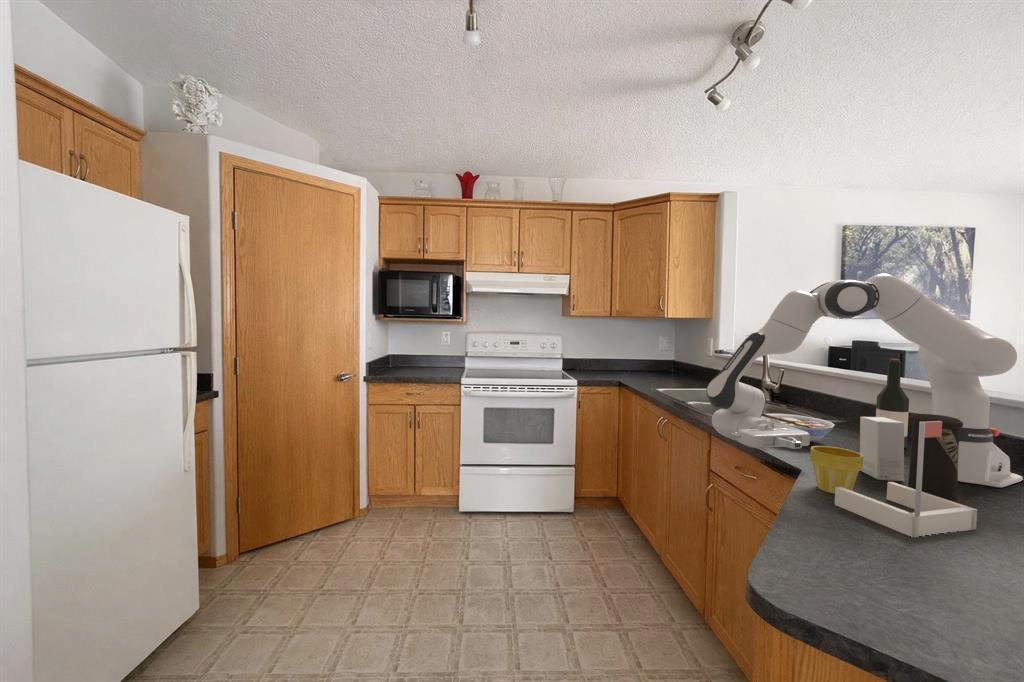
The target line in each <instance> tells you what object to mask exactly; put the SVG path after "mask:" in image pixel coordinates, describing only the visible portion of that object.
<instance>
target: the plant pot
mask: <svg viewBox="0 0 1024 682" xmlns="http://www.w3.org/2000/svg"><path fill="white" fill-rule="evenodd" d="M809 451H810V452H809V457H810V459H809V461H810V462H811V463H812V464H813V469H814V475H815V480H816V486H817V488H818V489H819V490H821V491H822V492H825V493H829V494H832V495H835V487H843V488H846V489H848V490H851V491H853V489H854V486H855V483H856V480H857V477H858V474H859V472H861V471H860V470H862V467H863V455H862V454H860V452H858V451H855V450H851V449H847V448H841V447H836V446H831V445H830V446H829V445H826V446H825V445H813V446H811V447H810V450H809Z"/></svg>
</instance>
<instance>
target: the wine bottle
mask: <svg viewBox="0 0 1024 682" xmlns="http://www.w3.org/2000/svg"><path fill="white" fill-rule="evenodd" d="M901 370H902V361H900V358H889V360H888V361H887V371H886V372H887V375H886V377H887V378H886V385H885V387H884V388H883V389H881V391H880V392H879V393H878V394H877V395H876V406H875V407H876V408H875V409H876V410H875V417H885V418H888V419H892V420H895V421H899V422H903V423H905V424H904V447H907V446H908V428H909V427H908V426H909V409H910V399H909V397H908V395H907V394H906V393H905V391H904V389H902V387H901V375H902V371H901ZM907 448H908V447H907Z"/></svg>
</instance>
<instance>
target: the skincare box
mask: <svg viewBox="0 0 1024 682" xmlns="http://www.w3.org/2000/svg"><path fill="white" fill-rule="evenodd" d="M859 418H860V420H859V423H860V424H859V453H860V454H862V455H863V467H862V470H860V471H859V472H863V474H866V475H868V476H870V477H872V478H874V479H876V480H879V481H888V482H904V480H905V478H904V477H905V474H904V472H905V468H904V467H905V449H904V424H905V423H903V422H899V421H895V420H892V419H888V418H885V417H876V416H860V417H859Z"/></svg>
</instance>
